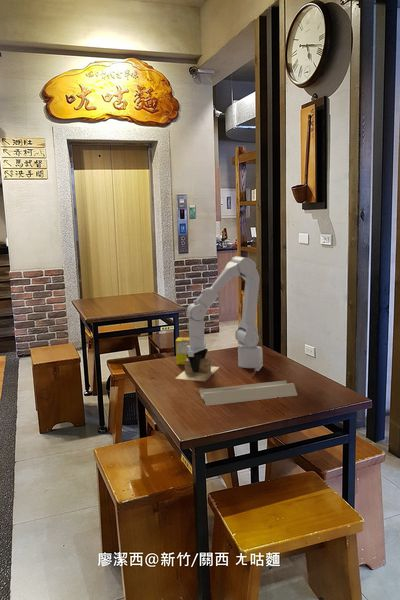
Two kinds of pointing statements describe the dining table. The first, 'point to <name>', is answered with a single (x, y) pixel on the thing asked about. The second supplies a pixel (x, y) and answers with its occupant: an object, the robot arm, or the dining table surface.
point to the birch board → (196, 375)
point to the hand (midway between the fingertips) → (197, 369)
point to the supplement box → (182, 349)
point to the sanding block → (203, 367)
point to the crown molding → (247, 392)
